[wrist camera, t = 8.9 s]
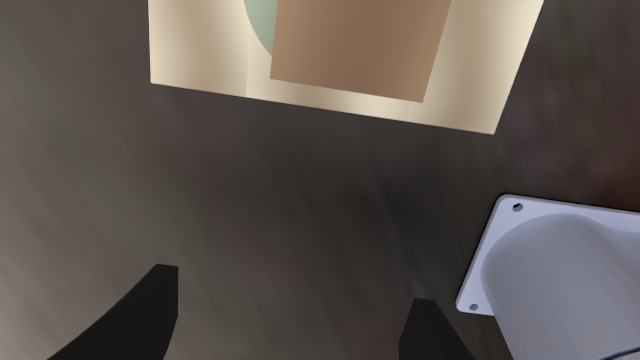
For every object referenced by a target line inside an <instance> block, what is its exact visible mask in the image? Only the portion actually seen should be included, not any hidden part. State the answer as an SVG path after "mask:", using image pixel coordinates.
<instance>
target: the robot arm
mask: <svg viewBox="0 0 640 360" xmlns="http://www.w3.org/2000/svg"><path fill="white" fill-rule="evenodd" d="M517 203H520V205H519V206H518V207H516V208H513V206H514V205H515V204H517ZM472 304H475V305H472ZM470 305H472V306H470ZM456 306H457V309H458V310H459V311H462V312H469V313H477V314H485V315H493V316H495V318H496V320H497V322H498V325H499V327H500V329H501V332H502V334H503V336H504V338H505V341H506V343H507V345H508V348H509V350H510V352H511V354H512V357H513V359H514V360H640V213H637V212H629V211H622V210H615V209H608V208H601V207H594V206H587V205H580V204H573V203H566V202H559V201H552V200H545V199H538V198H531V197H524V196H517V195H510V194H507V195H503V196H501V197H500V198H498V200H497V202H496V204H495V206H494V209H493V211H492V214H491V216H490V219H489V221H488V224H487V226H486V228H485V231H484V233H483V236H482V238H481V241H480V243H479V246H478V248H477V250H476V253H475V255H474V258H473V260H472V263H471V265H470V267H469V270H468V272H467V275H466V277H465V280H464V282H463V285H462V287H461V289H460V292H459V294H458V297H457V299H456ZM177 317H178V267H177V266H170V265H162V264H157V265H155V266H154V267H153V268H152V269H151V270H150V271H149V272H148V273H147V274H146V275H145V276H144V277H143V278H142V279H141V280H140V281H139V282H138V283H137V284H136V285H135V286H134V287H133V288H132V289H131V290H130V291H129V292H128V293H127V294H126V295H125V296H124V297H123V298H122V299H120V300H119V301H118V302H117V303H116V304H115V305H114V306H113V307H112V308H111V309H110V310H109V311H107V312H106V313H105V314H104V315H103V316H102V317H101V318H99V319H98V320H97V321H96V322H95V323H93V324H92V325H91V326H90V327H89V328H87V329H86V330H85V331H84V332H83V333H81V334H80V335H79V336H78V337H77V338H75V339H74V340H73V341H71V342H70V343H69V344H67V345H66V346H65V347H63V348H62V349H61V350H59V351H58V352H57V353H55V354H54V355H53V356H51V357H50V358H48V359H47V360H163V358H164V356H165V354H166V351H167V349H168V346H169V343H170V340H171V337H172V334H173V330H174V327H175V324H176V320H177ZM399 360H476V359H475V358H474V357H473V355H472V354H471V353H470V351H469V350H468V349H467V347H466V346H465V344H464V343H463V342H462V340H461V339H460V337H459V336H458V334H457V333H456V331H455V330H454V329H453V327H452V326H451V324H450V323H449V321H448V320H447V318H446V317H445V315H444V314H443V312H442V311H441V309H440V308H439V307H438V305H437V304H436V302H435V301H434V300H427V299H420V298H415V299H414V302H413V305H412V307H411V310H410V313H409V316H408V319H407V321H406V324H405V327H404V330H403V332H402V335H401V338H400V341H399Z"/></svg>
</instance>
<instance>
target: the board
mask: <svg viewBox="0 0 640 360" xmlns="http://www.w3.org/2000/svg"><path fill="white" fill-rule="evenodd" d="M543 1H544V0H452V1H451V5H450V8H449V12H448V15H447V19H446V22H445V26H444V29H443V33H442V36H441V40H440V43H439V47H438V50H437V54H436V57H435V61H434V64H433V68H432V72H431V75H430V79H429V82H428V86H427V89H426V93H425V96H424V100H423V103H419V102H412V101H406V100H400V99H393V98H387V97H381V96H374V95H368V94H362V93H356V92H349V91H343V90H337V89H330V88H324V87H318V86H311V85H305V84H299V83H292V82H286V81H280V80H273V79H270V71H271V61H272V52H273V42H274V33H275V23H276V14H277V4H278V0H148V3H149V35H150V66H151V83H156V84H162V85H169V86H176V87H182V88H189V89H196V90H202V91H209V92H216V93H222V94H229V95H235V96H242V97H249V98H255V99H262V100H269V101H275V102H282V103H288V104H295V105H302V106H308V107H315V108H322V109H328V110H335V111H341V112H348V113H355V114H361V115H368V116H375V117H381V118H388V119H395V120H401V121H408V122H414V123H421V124H428V125H434V126H441V127H448V128H454V129H461V130H467V131H474V132H481V133H487V134H494V132H495V129H496V127H497V124H498V121H499V119H500V116H501V113H502V111H503V108H504V105H505V103H506V100H507V97H508V95H509V92H510V89H511V87H512V84H513V81H514V79H515V76H516V73H517V71H518V68H519V65H520V63H521V60H522V57H523V54H524V52H525V49H526V46H527V44H528V41H529V38H530V36H531V33H532V30H533V28H534V25H535V22H536V20H537V17H538V14H539V12H540V9H541V6H542V4H543Z"/></svg>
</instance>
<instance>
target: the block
mask: <svg viewBox="0 0 640 360" xmlns="http://www.w3.org/2000/svg"><path fill="white" fill-rule="evenodd" d="M451 1H452V0H278V4H277V14H276V23H275V33H274V42H273V52H272V61H271V71H270V79H273V80H280V81H286V82H292V83H299V84H305V85H311V86H318V87H324V88H330V89H337V90H343V91H349V92H356V93H362V94H368V95H374V96H381V97H387V98H393V99H400V100H406V101H412V102H419V103H423V100H424V96H425V93H426V89H427V86H428V82H429V79H430V75H431V72H432V68H433V64H434V61H435V57H436V54H437V50H438V47H439V43H440V40H441V36H442V33H443V29H444V26H445V22H446V19H447V15H448V12H449V8H450V5H451Z"/></svg>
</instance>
